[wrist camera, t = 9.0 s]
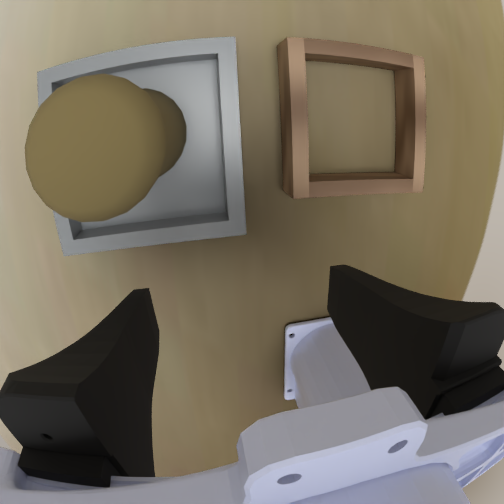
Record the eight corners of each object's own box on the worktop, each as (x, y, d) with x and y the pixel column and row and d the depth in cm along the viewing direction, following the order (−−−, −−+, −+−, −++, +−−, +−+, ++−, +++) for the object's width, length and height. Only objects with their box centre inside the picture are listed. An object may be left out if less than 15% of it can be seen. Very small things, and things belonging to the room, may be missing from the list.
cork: (80, 160, 18) (-17, 206, 8) (120, 74, 16) (44, 33, 6) (160, 197, 20) (128, 277, 10) (204, 112, 18) (213, 100, 8)
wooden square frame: (403, 184, 23) (422, 192, 21) (283, 190, 22) (293, 199, 19) (404, 60, 19) (423, 57, 17) (276, 45, 18) (287, 37, 15)
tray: (241, 222, 22) (246, 234, 20) (75, 242, 20) (64, 256, 18) (230, 46, 17) (235, 36, 15) (53, 76, 16) (37, 72, 13)
